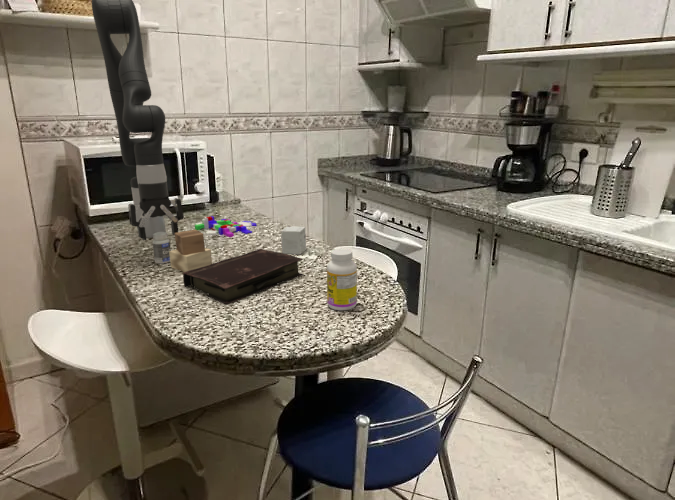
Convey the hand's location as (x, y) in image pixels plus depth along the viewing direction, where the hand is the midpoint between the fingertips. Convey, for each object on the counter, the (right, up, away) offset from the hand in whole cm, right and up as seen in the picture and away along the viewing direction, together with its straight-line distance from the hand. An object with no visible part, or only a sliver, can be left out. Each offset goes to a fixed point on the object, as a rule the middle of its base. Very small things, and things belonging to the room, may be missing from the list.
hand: (159, 237), depth 131 cm
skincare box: (+38, -4, +11) cm, 39 cm away
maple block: (+10, -9, -2) cm, 13 cm away
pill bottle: (0, -7, +3) cm, 8 cm away
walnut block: (+10, -4, -4) cm, 11 cm away
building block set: (+10, +4, +39) cm, 41 cm away
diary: (+27, -12, -13) cm, 33 cm away
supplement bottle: (+52, -16, -28) cm, 61 cm away
